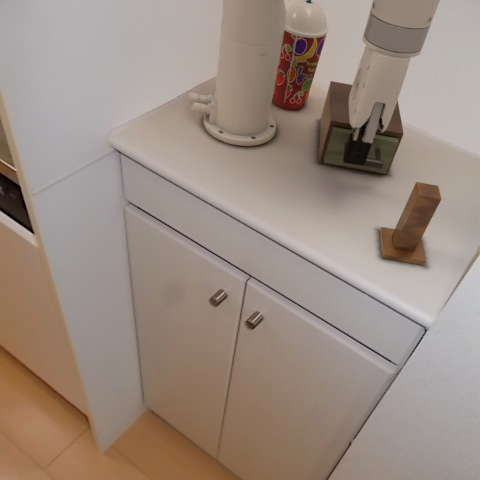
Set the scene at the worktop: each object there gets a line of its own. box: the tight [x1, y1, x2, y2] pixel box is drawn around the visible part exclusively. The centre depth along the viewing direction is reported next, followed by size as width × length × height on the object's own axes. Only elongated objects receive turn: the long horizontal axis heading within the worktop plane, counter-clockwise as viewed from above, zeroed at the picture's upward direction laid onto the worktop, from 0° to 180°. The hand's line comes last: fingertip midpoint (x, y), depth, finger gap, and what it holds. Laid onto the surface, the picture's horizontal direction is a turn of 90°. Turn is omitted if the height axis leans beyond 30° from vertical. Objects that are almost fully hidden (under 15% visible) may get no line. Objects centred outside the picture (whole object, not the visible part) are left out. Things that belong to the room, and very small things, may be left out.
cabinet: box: [318, 80, 404, 176], centre depth 89 cm, size 14×12×8 cm
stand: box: [379, 181, 442, 266], centre depth 72 cm, size 6×6×10 cm
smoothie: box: [272, 0, 329, 110], centre depth 92 cm, size 8×8×20 cm
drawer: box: [323, 126, 398, 175], centre depth 86 cm, size 17×10×6 cm, turn 174°
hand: (353, 161), depth 79 cm, fingers closed
